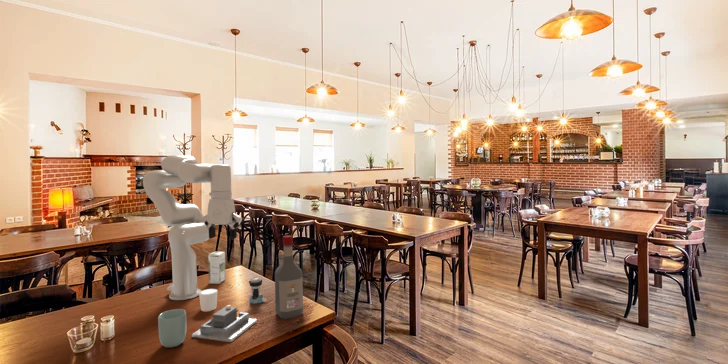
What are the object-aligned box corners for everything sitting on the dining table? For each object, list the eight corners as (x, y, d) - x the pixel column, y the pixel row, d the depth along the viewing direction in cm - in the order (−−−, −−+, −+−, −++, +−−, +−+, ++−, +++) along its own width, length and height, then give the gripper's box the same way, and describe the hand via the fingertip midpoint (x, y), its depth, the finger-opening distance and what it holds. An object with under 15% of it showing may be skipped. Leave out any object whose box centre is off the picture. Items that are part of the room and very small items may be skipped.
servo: (211, 331, 118) (210, 312, 117) (227, 320, 126) (227, 302, 126) (222, 332, 117) (222, 313, 116) (238, 321, 125) (238, 303, 125)
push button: (267, 299, 148) (266, 276, 148) (264, 304, 143) (263, 280, 142) (251, 300, 148) (250, 277, 147) (248, 305, 143) (247, 281, 142)
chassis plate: (192, 337, 116) (191, 326, 116) (221, 317, 131) (220, 308, 131) (231, 342, 113) (230, 331, 112) (256, 321, 127) (256, 312, 127)
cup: (166, 338, 115) (165, 309, 115) (191, 337, 116) (190, 308, 115) (154, 351, 107) (153, 319, 107) (180, 350, 108) (179, 318, 108)
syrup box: (214, 279, 175) (213, 251, 175) (226, 280, 175) (225, 251, 174) (208, 283, 170) (207, 254, 169) (220, 283, 169) (219, 254, 168)
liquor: (305, 315, 132) (303, 236, 131) (281, 320, 128) (279, 239, 126) (296, 306, 140) (295, 233, 139) (274, 312, 135) (272, 235, 134)
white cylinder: (221, 306, 142) (221, 289, 141) (209, 313, 135) (208, 295, 135) (208, 304, 144) (207, 287, 144) (195, 310, 138) (194, 293, 137)
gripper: (196, 196, 137) (197, 239, 137) (234, 196, 132) (236, 241, 133) (209, 194, 144) (210, 235, 145) (246, 194, 139) (247, 237, 140)
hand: (222, 238), depth 139 cm, fingers open, 9 cm apart
